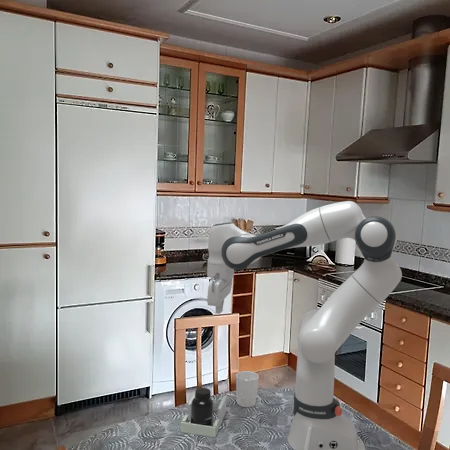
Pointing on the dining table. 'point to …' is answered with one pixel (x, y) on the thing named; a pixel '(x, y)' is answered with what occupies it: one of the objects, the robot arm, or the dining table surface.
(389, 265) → the robot arm
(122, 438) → the dining table surface
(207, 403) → the supplement bottle
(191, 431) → the dock
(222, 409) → the channel
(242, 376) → the white cup
